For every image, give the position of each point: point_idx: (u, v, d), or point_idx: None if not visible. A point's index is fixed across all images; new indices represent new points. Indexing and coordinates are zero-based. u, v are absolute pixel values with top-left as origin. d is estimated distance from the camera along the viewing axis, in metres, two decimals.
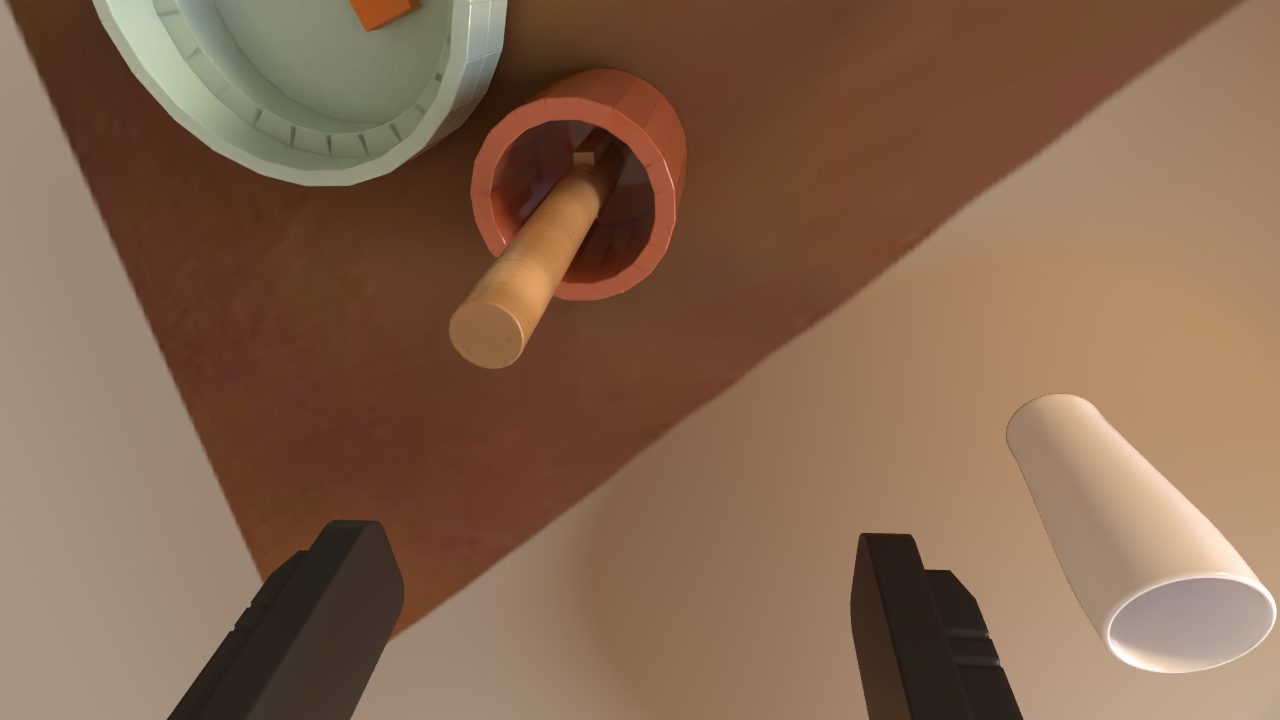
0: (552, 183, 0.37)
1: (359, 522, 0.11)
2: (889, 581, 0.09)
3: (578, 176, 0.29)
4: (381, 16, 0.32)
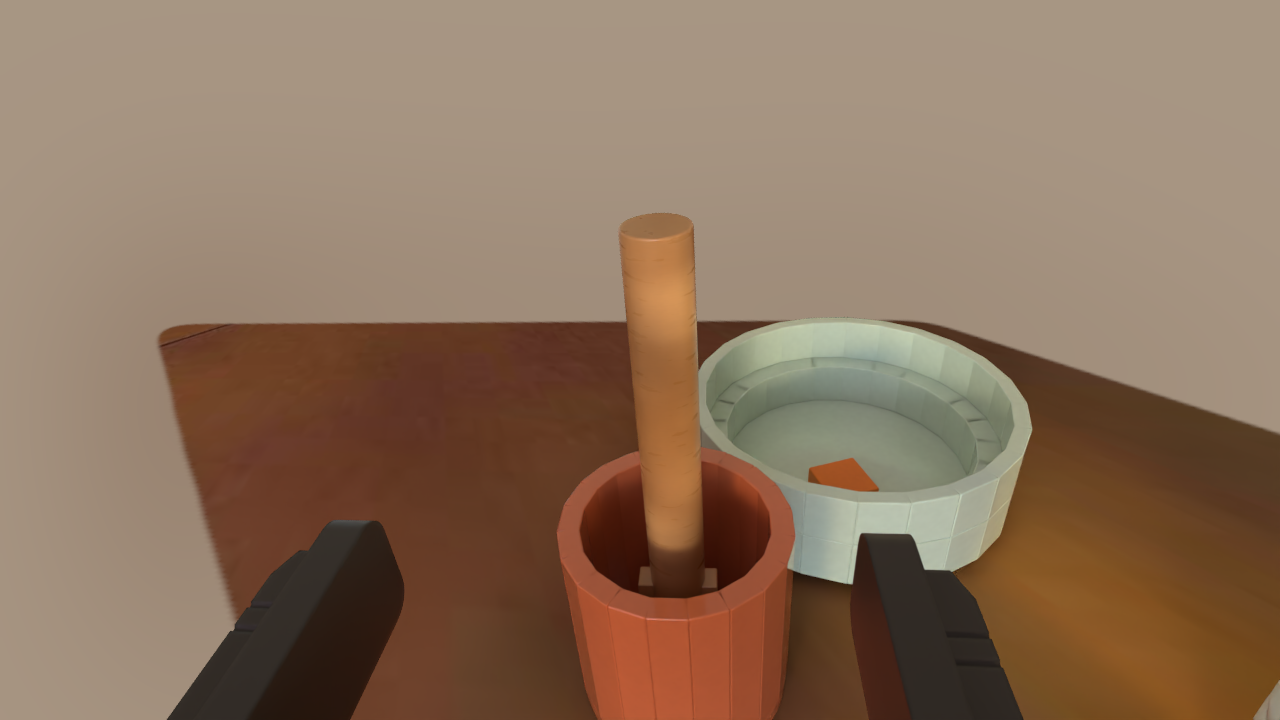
0: None
1: (359, 522, 0.11)
2: (889, 581, 0.09)
3: (703, 542, 0.26)
4: (822, 479, 0.37)
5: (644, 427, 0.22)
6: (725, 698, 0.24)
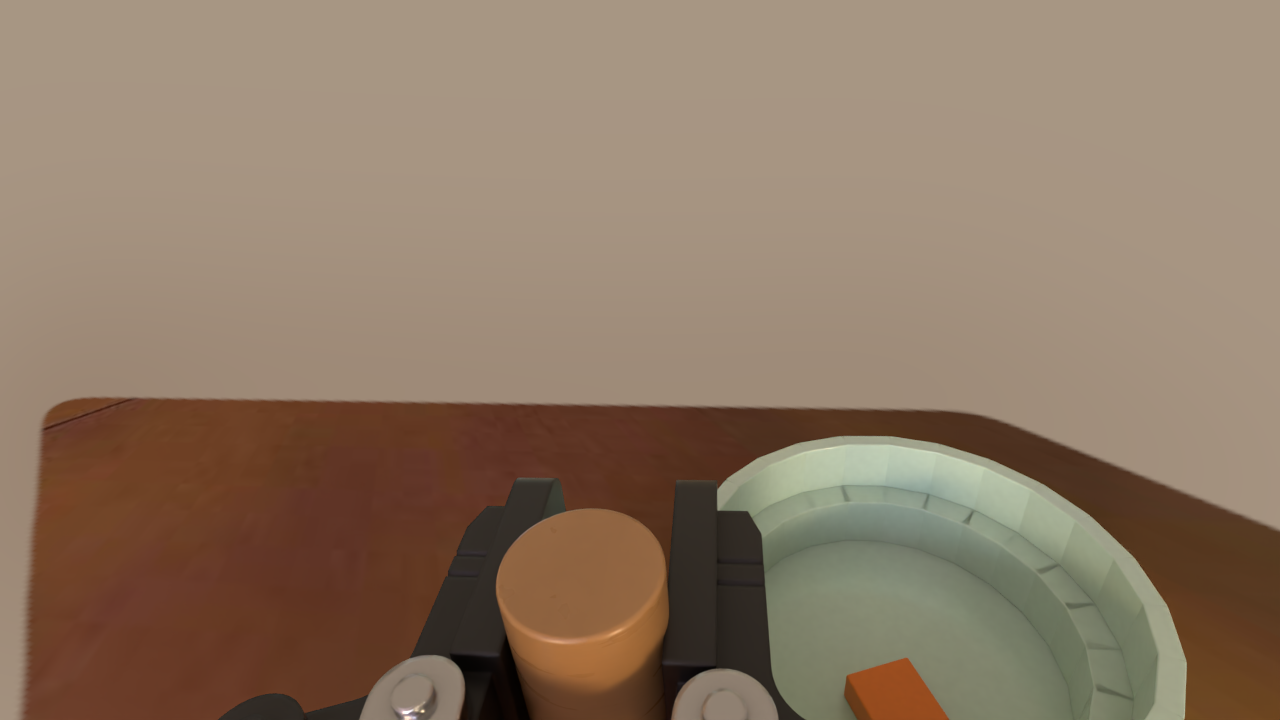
0: None
1: (545, 479, 0.12)
2: (683, 517, 0.10)
3: None
4: (867, 698, 0.26)
5: None
6: None
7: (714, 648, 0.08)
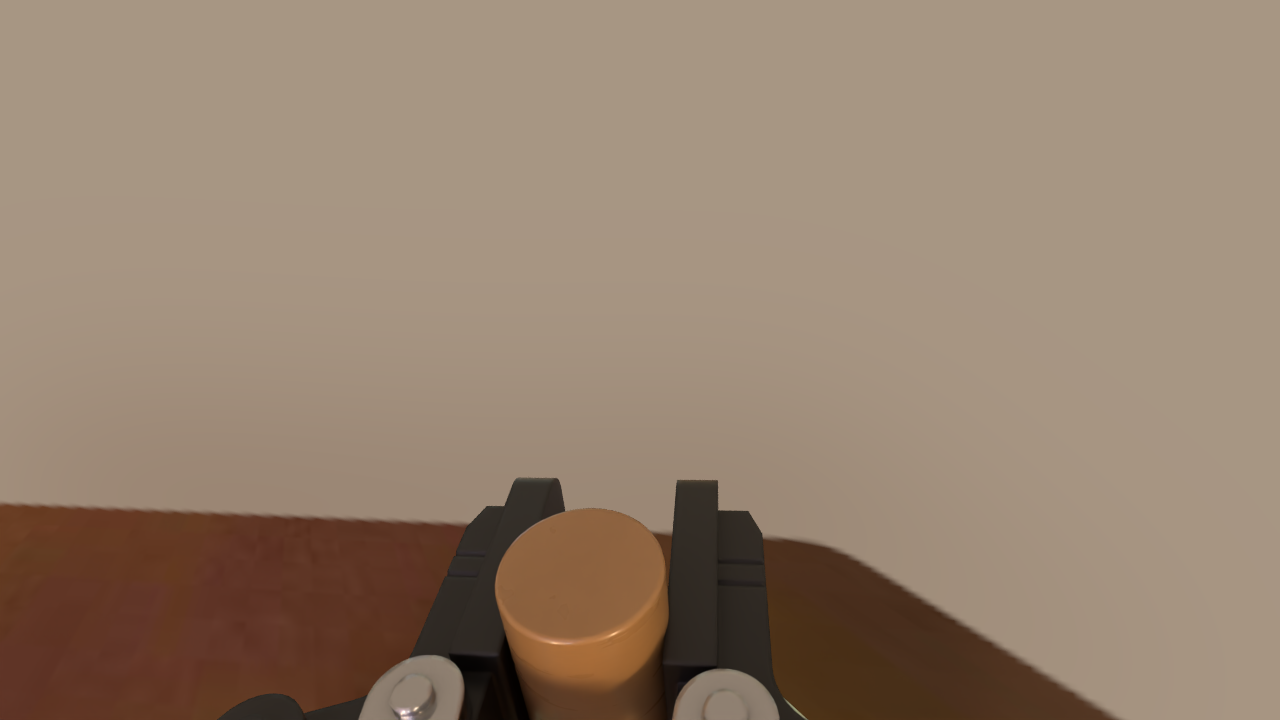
0: None
1: (544, 479, 0.12)
2: (683, 517, 0.10)
3: None
4: None
5: None
6: None
7: (715, 648, 0.08)
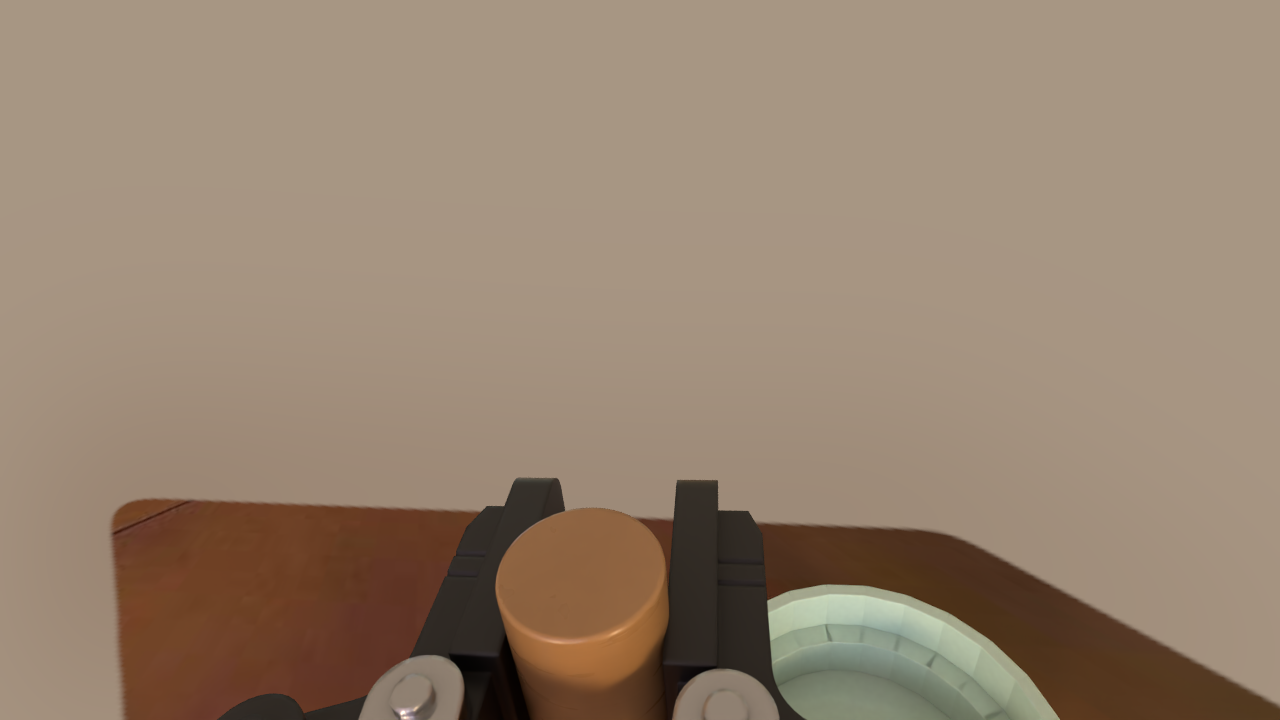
0: None
1: (544, 479, 0.12)
2: (684, 517, 0.10)
3: None
4: None
5: None
6: None
7: (715, 648, 0.08)
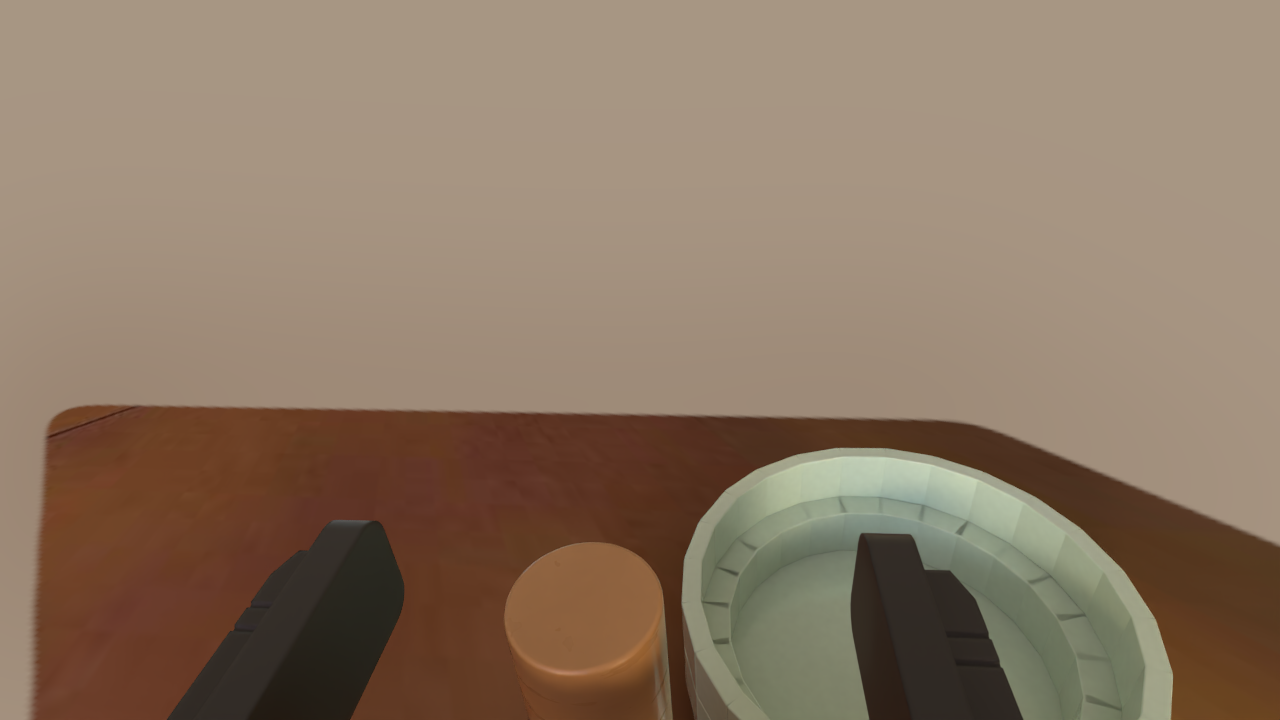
0: None
1: (359, 522, 0.11)
2: (889, 581, 0.09)
3: None
4: None
5: None
6: None
7: None
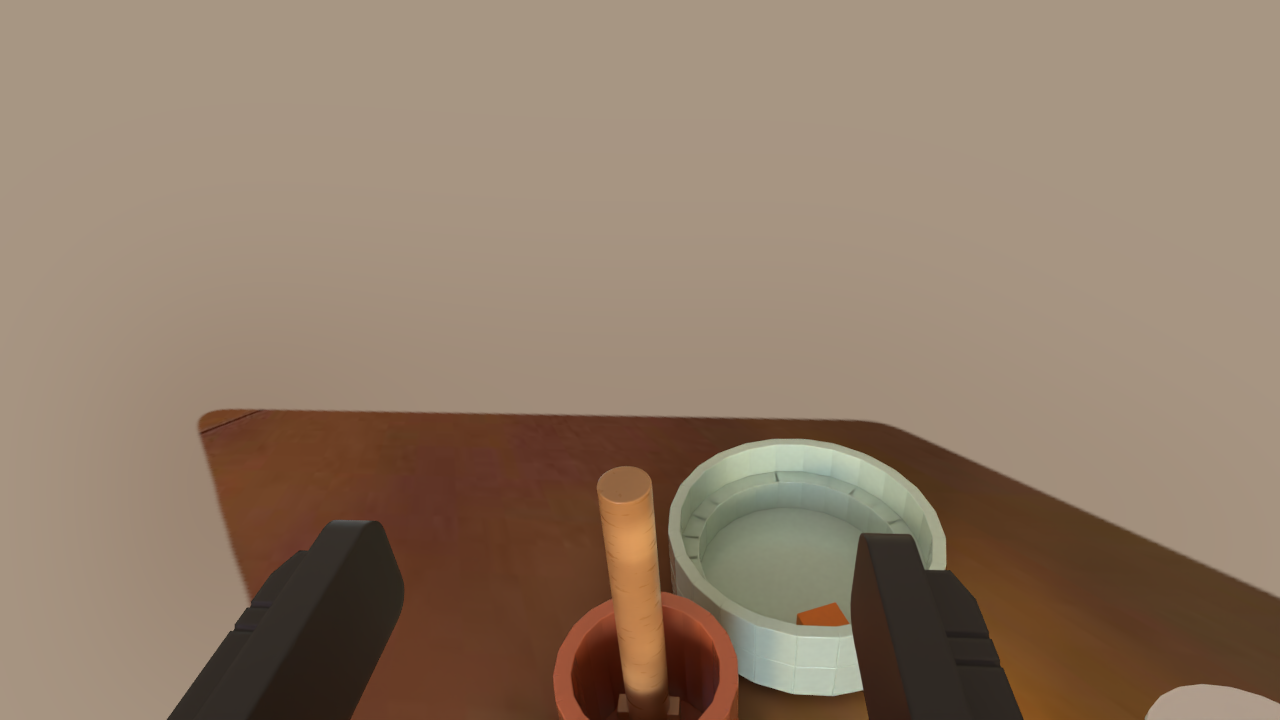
0: None
1: (359, 522, 0.11)
2: (889, 581, 0.09)
3: (666, 682, 0.33)
4: None
5: (618, 611, 0.29)
6: None
7: None
